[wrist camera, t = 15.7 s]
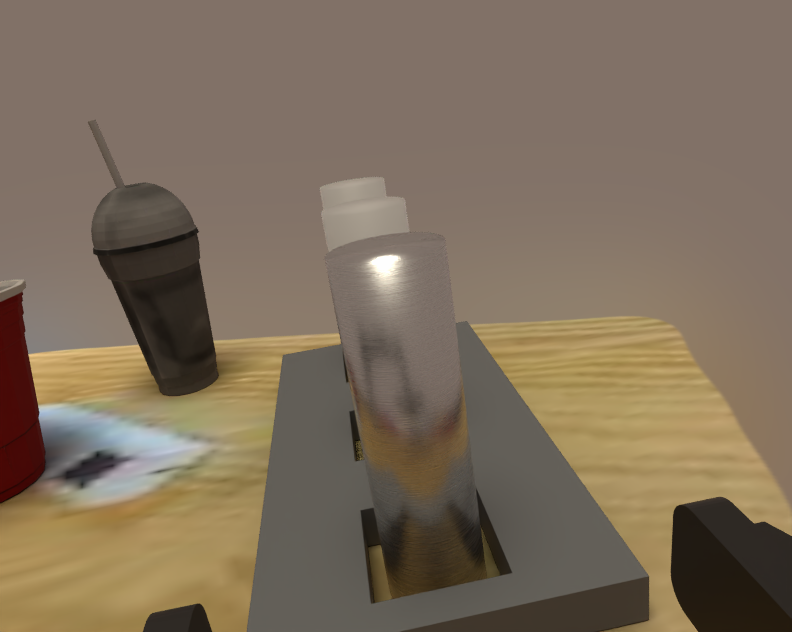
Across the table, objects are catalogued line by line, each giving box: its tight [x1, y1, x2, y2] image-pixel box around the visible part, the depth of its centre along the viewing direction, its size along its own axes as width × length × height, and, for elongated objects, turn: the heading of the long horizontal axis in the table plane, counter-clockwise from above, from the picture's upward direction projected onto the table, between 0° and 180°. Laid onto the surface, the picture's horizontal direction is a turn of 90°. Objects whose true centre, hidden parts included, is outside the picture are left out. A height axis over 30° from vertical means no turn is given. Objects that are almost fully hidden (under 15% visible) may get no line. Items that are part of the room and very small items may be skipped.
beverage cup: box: [88, 120, 218, 396], centre depth 43 cm, size 7×7×20 cm
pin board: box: [247, 177, 649, 632], centre depth 30 cm, size 14×26×14 cm, turn 8°
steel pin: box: [325, 232, 487, 599], centre depth 22 cm, size 4×4×14 cm
